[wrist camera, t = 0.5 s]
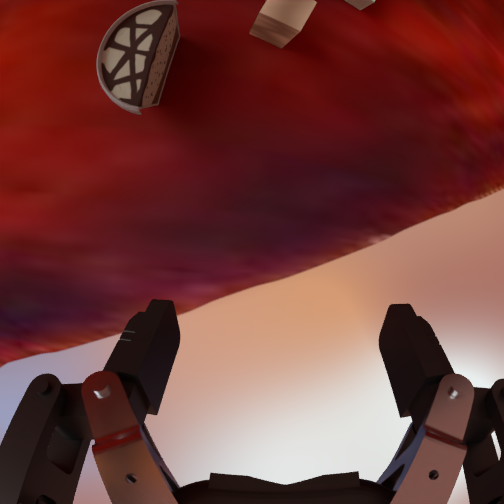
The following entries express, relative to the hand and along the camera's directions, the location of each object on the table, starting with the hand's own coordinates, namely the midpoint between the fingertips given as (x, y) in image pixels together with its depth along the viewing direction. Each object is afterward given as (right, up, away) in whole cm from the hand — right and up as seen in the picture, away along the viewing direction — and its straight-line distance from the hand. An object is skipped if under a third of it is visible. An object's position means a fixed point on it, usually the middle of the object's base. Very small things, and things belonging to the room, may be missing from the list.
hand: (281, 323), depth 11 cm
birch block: (+1, +30, +18) cm, 35 cm away
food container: (-14, +25, +18) cm, 34 cm away
